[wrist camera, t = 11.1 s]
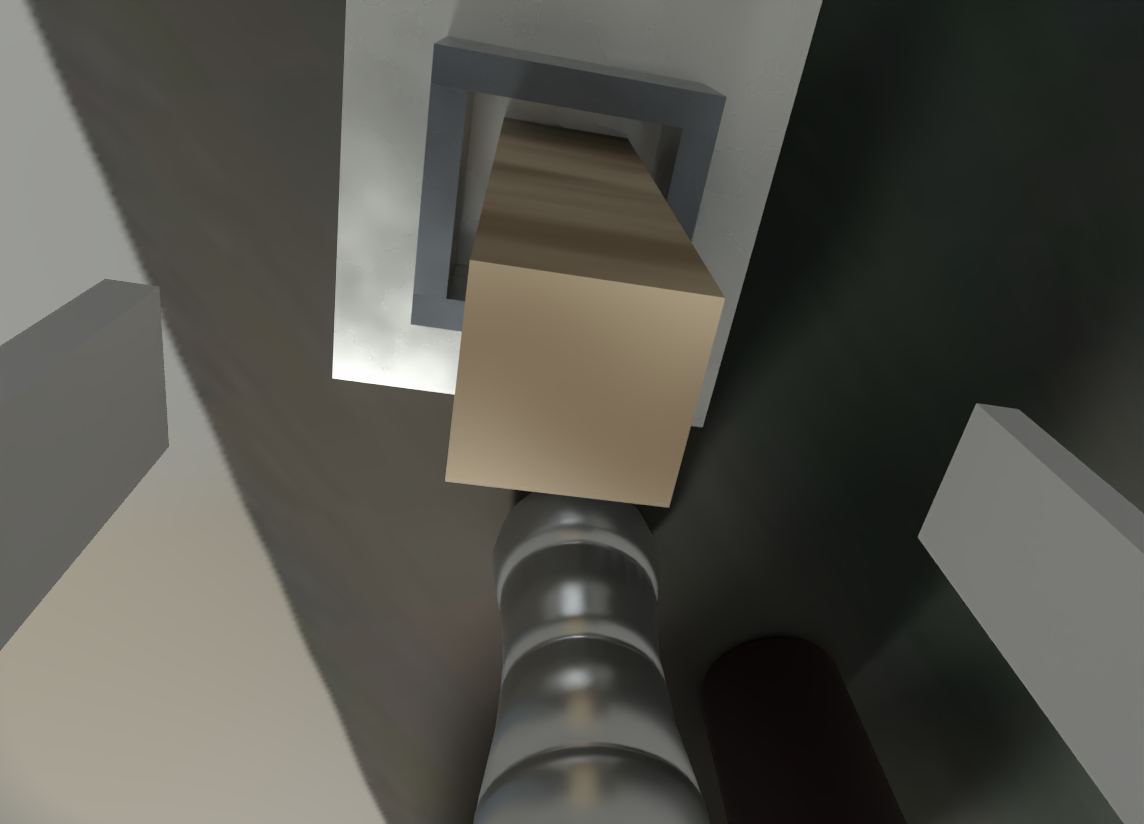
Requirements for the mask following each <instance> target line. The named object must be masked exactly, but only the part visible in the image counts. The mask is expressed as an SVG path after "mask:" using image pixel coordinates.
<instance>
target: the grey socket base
mask: <svg viewBox="0 0 1144 824" xmlns="http://www.w3.org/2000/svg"><path fill="white" fill-rule="evenodd" d="M821 4H822V0H346V24H345V51H344V78H343V105H342V133H341V160H340V187H339V214H338V241H337V269H336V296H335V323H334V350H333V377H332V378H334V379H342V380H349V381H357V382H364V383H372V384H379V385H387V386H395V387H402V388H410V389H417V390H425V391H432V392H440V393H447V394H455V388H456V379H457V370H458V361H459V352H460V343H461V334H462V325H463V317H464V308H465V299H466V290H467V281H468V272H469V263H470V257H471V253H472V249H473V245H474V240H475V236H476V232H477V228H478V224H479V220H480V215H481V211H482V207H483V203H484V199H485V194H486V190H487V186H488V182H489V178H490V174H491V169H492V165H493V161H494V157H495V153H496V149H497V144H498V140H499V136H500V132H501V128H502V124H503V119H504V117H505V118H511V119H517V120H523V121H529V122H534V123H540V124H546V125H552V126H558V127H564V128H570V129H576V130H582V131H588V132H593V133H599V134H605V135H611V136H617V137H623V138H628V140H629V141H630V143H631V144H632V146H633V148H634V149H635V151H636V153H637V154H638V156H639V158H640V159H641V161H642V162H643V164H644V166H645V167H646V169H647V171H648V172H649V174H650V176H651V177H652V179H653V180H654V182H655V184H656V185H657V187H658V189H659V190H660V192H661V193H662V195H663V197H664V198H665V200H666V202H667V203H668V205H669V207H670V208H671V210H672V211H673V213H674V215H675V216H676V218H677V220H678V221H679V223H680V225H681V226H682V228H683V229H684V231H685V233H686V234H687V236H688V238H689V239H690V241H691V243H692V244H693V246H694V247H695V249H696V251H697V252H698V254H699V256H700V257H701V259H702V261H703V262H704V264H705V265H706V267H707V269H708V270H709V272H710V274H711V275H712V277H713V279H714V280H715V282H716V283H717V285H718V287H719V288H720V290H721V292H722V293H723V295H724V297H725V301H724V305H723V309H722V312H721V316H720V320H719V324H718V327H717V331H716V335H715V338H714V342H713V346H712V350H711V353H710V357H709V361H708V365H707V368H706V372H705V376H704V379H703V383H702V387H701V391H700V394H699V398H698V402H697V405H696V409H695V413H694V417H693V420H692V424H691V426H696V427H703V425H704V421H705V417H706V414H707V410H708V407H709V403H710V400H711V396H712V392H713V389H714V385H715V382H716V378H717V375H718V371H719V368H720V364H721V360H722V357H723V353H724V350H725V346H726V343H727V339H728V335H729V332H730V328H731V325H732V321H733V318H734V314H735V310H736V307H737V303H738V300H739V296H740V293H741V289H742V286H743V282H744V278H745V275H746V271H747V268H748V264H749V261H750V257H751V253H752V250H753V246H754V243H755V239H756V236H757V232H758V228H759V225H760V221H761V218H762V214H763V211H764V207H765V204H766V200H767V196H768V193H769V189H770V186H771V182H772V179H773V175H774V171H775V168H776V164H777V161H778V157H779V154H780V150H781V147H782V143H783V139H784V136H785V132H786V129H787V125H788V122H789V118H790V114H791V111H792V107H793V104H794V100H795V97H796V93H797V89H798V86H799V82H800V79H801V75H802V72H803V68H804V65H805V61H806V57H807V54H808V50H809V47H810V43H811V40H812V36H813V32H814V29H815V25H816V22H817V18H818V15H819V11H820V7H821Z"/></svg>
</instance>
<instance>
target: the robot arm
mask: <svg viewBox="0 0 1144 824" xmlns="http://www.w3.org/2000/svg"><path fill="white" fill-rule="evenodd" d="M166 409H167V408H166V391H165V375H164V359H163V343H162V326H161V310H160V294H159V287H158V286H151V285H144V284H137V283H130V282H123V281H116V280H109V279H104V280H103V281H101V282H100V283H98V284H96V285H95V286H93V287H92V288H90V289H89V290H87V291H86V292H84V293H82V294H81V295H79V296H78V297H76V298H75V299H73V300H72V301H70V302H68V303H67V304H65V305H64V306H62V307H61V308H59V309H57V310H56V311H54V312H53V313H51V314H50V315H48V316H46V317H45V318H43V319H42V320H40V321H39V322H37V323H36V324H34V325H32V326H31V327H29V328H28V329H26V330H25V331H23V332H21V333H20V334H18V335H17V336H15V337H14V338H12V339H10V340H9V341H7V342H6V343H4V344H3V345H1V346H0V650H1V649H2V648H3V647H4V645H5V644H6V643H7V642H8V641H9V639H10V638H11V637H12V636H13V634H14V633H15V632H16V631H17V630H18V628H19V627H20V626H21V625H22V623H23V622H24V621H25V620H26V619H27V617H28V616H29V615H30V614H31V613H32V611H33V610H34V609H35V608H36V607H37V605H38V604H39V603H40V602H41V601H42V599H43V598H44V597H45V596H46V594H47V593H48V592H49V591H50V590H51V588H52V587H53V586H54V585H55V584H56V582H57V581H58V580H59V579H60V578H61V576H62V575H63V574H64V573H65V571H66V570H67V569H68V568H69V567H70V565H71V564H72V563H73V562H74V561H75V559H76V558H77V557H78V556H79V555H80V553H81V552H82V551H83V549H85V547H86V546H87V545H88V544H89V542H90V541H91V540H92V539H93V538H94V536H95V535H96V534H97V533H98V531H99V530H100V529H101V528H102V527H103V525H104V524H105V523H106V522H107V521H108V519H109V518H110V517H111V516H112V515H113V513H114V512H115V511H116V510H117V509H118V507H119V506H120V505H121V504H122V503H123V501H124V500H125V499H126V498H127V496H128V495H129V494H130V493H131V492H132V490H133V489H134V488H135V487H136V486H137V484H138V483H139V482H140V481H141V479H142V478H143V477H144V476H145V475H146V473H147V472H148V471H149V470H150V469H151V467H152V466H153V465H154V464H155V463H156V461H157V460H158V459H159V458H160V457H161V455H162V454H163V453H164V451H165V450H166V449H167V448H168V447H169V443H168V442H169V441H168V425H167V410H166ZM918 538H919V540H920V541H921V543H922V544H923V545H924V547H925V548H926V550H927V551H928V552H929V554H930V555H931V556H932V558H933V559H934V561H935V562H936V563H937V565H938V566H939V568H940V569H941V570H942V572H943V573H944V574H945V576H946V577H947V579H948V580H949V581H950V583H951V584H952V586H953V587H954V588H955V590H956V591H957V593H958V594H959V595H960V597H961V598H962V599H963V601H964V602H965V604H966V605H967V606H968V608H969V609H970V611H971V612H972V613H973V615H974V616H975V618H976V619H977V620H978V622H979V623H980V624H981V626H982V627H983V629H984V630H985V631H986V633H987V634H988V636H989V637H990V638H991V640H992V641H993V643H994V644H995V645H996V647H997V648H998V649H999V651H1000V652H1001V654H1002V655H1003V656H1004V658H1005V659H1006V661H1007V662H1008V663H1009V665H1010V666H1011V667H1012V669H1013V670H1014V672H1015V673H1016V674H1017V676H1018V677H1019V679H1020V680H1021V681H1022V683H1023V684H1024V686H1025V687H1026V688H1027V690H1028V691H1029V692H1030V694H1031V695H1032V697H1033V698H1034V699H1035V701H1036V702H1037V704H1038V705H1039V706H1040V708H1041V709H1042V711H1043V712H1044V713H1045V715H1046V716H1047V717H1048V719H1049V720H1050V722H1051V723H1052V724H1053V726H1054V727H1055V729H1056V730H1057V731H1058V733H1059V734H1060V735H1061V737H1062V738H1063V740H1064V741H1065V742H1066V744H1067V745H1068V747H1069V748H1070V749H1071V751H1072V752H1073V754H1074V755H1075V756H1076V758H1077V759H1078V760H1079V762H1080V763H1081V765H1082V766H1083V767H1084V769H1085V770H1086V772H1087V773H1088V774H1089V776H1090V777H1091V779H1092V780H1093V781H1094V783H1095V784H1096V785H1097V787H1098V788H1099V790H1100V791H1101V792H1102V794H1103V795H1104V797H1105V798H1106V799H1107V801H1108V802H1109V804H1110V805H1111V806H1112V808H1113V809H1114V810H1115V812H1116V813H1117V815H1118V816H1119V817H1120V819H1121V820H1122V822H1123V823H1124V824H1144V514H1143V513H1142V512H1141V511H1140V510H1139V509H1137V508H1136V507H1135V506H1134V505H1133V504H1131V503H1130V502H1129V501H1128V500H1127V499H1125V498H1124V497H1123V496H1122V495H1121V494H1119V493H1118V492H1117V491H1116V490H1115V489H1114V488H1112V487H1111V486H1110V485H1109V484H1108V483H1106V482H1105V481H1104V480H1103V479H1102V478H1100V477H1099V476H1098V475H1097V474H1096V473H1094V472H1093V471H1092V470H1091V469H1090V468H1088V467H1087V466H1086V465H1085V464H1084V463H1082V462H1081V461H1080V460H1079V459H1078V458H1076V457H1075V456H1074V455H1073V454H1072V453H1070V452H1069V451H1068V450H1067V449H1066V448H1064V447H1063V446H1062V445H1061V444H1060V443H1058V442H1057V441H1056V440H1055V439H1054V438H1052V437H1051V436H1050V435H1049V434H1048V433H1046V432H1045V431H1044V430H1043V429H1042V428H1040V427H1039V426H1038V425H1037V424H1036V423H1034V422H1033V421H1032V420H1031V419H1030V418H1028V417H1027V416H1026V415H1025V414H1024V413H1022V412H1021V411H1020V410H1019V409H1014V408H1007V407H1000V406H993V405H986V404H979V403H976V405H975V407H974V410H973V412H972V414H971V416H970V419H969V421H968V423H967V426H966V428H965V430H964V432H963V435H962V437H961V439H960V442H959V444H958V446H957V448H956V451H955V453H954V455H953V457H952V460H951V462H950V464H949V467H948V469H947V471H946V473H945V476H944V478H943V480H942V482H941V485H940V487H939V489H938V492H937V494H936V496H935V498H934V501H933V503H932V505H931V508H930V510H929V512H928V514H927V517H926V519H925V521H924V523H923V526H922V528H921V530H920V533H919V535H918Z"/></svg>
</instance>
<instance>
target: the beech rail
mask: <svg viewBox="0 0 1144 824" xmlns="http://www.w3.org/2000/svg"><path fill="white" fill-rule="evenodd" d="M724 301H725V297H724V295H723V293H722V292H721V290H720V288H719V287H718V285H717V283H716V282H715V280H714V279H713V277H712V275H711V274H710V272H709V270H708V269H707V267H706V265H705V264H704V262H703V261H702V259H701V257H700V256H699V254H698V252H697V251H696V249H695V247H694V246H693V244H692V243H691V241H690V239H689V238H688V236H687V234H686V233H685V231H684V229H683V228H682V226H681V225H680V223H679V221H678V220H677V218H676V216H675V215H674V213H673V211H672V210H671V208H670V207H669V205H668V203H667V202H666V200H665V198H664V197H663V195H662V193H661V192H660V190H659V189H658V187H657V185H656V184H655V182H654V180H653V179H652V177H651V176H650V174H649V172H648V171H647V169H646V167H645V166H644V164H643V162H642V161H641V159H640V158H639V156H638V154H637V153H636V151H635V149H634V148H633V146H632V144H631V143H630V141H629V140H628V138H623V137H617V136H611V135H605V134H599V133H593V132H588V131H582V130H576V129H570V128H564V127H558V126H552V125H546V124H540V123H534V122H529V121H523V120H517V119H511V118H505V117H504V119H503V124H502V128H501V132H500V136H499V140H498V144H497V149H496V153H495V157H494V161H493V165H492V169H491V174H490V178H489V182H488V186H487V190H486V194H485V199H484V203H483V207H482V211H481V215H480V220H479V224H478V228H477V232H476V236H475V240H474V245H473V249H472V253H471V257H470V263H469V272H468V281H467V290H466V299H465V308H464V317H463V325H462V334H461V343H460V352H459V361H458V370H457V379H456V388H455V397H454V406H453V415H452V424H451V433H450V442H449V451H448V460H447V469H446V478H445V481H446V482H455V483H463V484H472V485H480V486H489V487H497V488H506V489H514V490H523V491H531V492H540V493H548V494H557V495H565V496H574V497H582V498H591V499H599V500H608V501H616V502H625V503H633V504H642V505H651V506H659V507H668V508H669V506H670V502H671V499H672V495H673V491H674V487H675V484H676V480H677V476H678V472H679V469H680V465H681V461H682V458H683V454H684V450H685V446H686V443H687V439H688V435H689V432H690V428H691V424H692V420H693V417H694V413H695V409H696V405H697V402H698V398H699V394H700V391H701V387H702V383H703V379H704V376H705V372H706V368H707V365H708V361H709V357H710V353H711V350H712V346H713V342H714V338H715V335H716V331H717V327H718V324H719V320H720V316H721V312H722V309H723V305H724Z"/></svg>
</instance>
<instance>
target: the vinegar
mask: <svg viewBox="0 0 1144 824" xmlns="http://www.w3.org/2000/svg"><path fill="white" fill-rule="evenodd" d="M701 705H702V712H703V716H704V721H705V725H706V729H707V734H708V738H709V742H710V747H711V751H712V755H713V760H714V764H715V768H716V772H717V777H718V781H719V785H720V790H721V794H722V798H723V803H724V807H725V811H726V816H727V820H728V824H907V823H906V821H905V819H904V817H903V815H902V812H901V810H900V808H899V806H898V803H897V801H896V799H895V797H894V794H893V792H892V790H891V788H890V785H889V783H888V781H887V779H886V776H885V774H884V772H883V770H882V767H881V765H880V763H879V761H878V758H877V756H876V754H875V752H874V749H873V747H872V745H871V743H870V740H869V738H868V736H867V734H866V731H865V729H864V727H863V725H862V722H861V720H860V718H859V716H858V714H857V711H856V709H855V707H854V705H853V702H852V700H851V698H850V696H849V693H848V691H847V689H846V687H845V684H844V682H843V680H842V678H841V675H840V673H839V671H838V669H837V666H836V664H835V662H834V661H833V660H832V659H831V658H830V657H829V656H828V655H827V654H826V653H825V652H824V651H823V650H822V649H820V648H819V647H817V646H815V645H812V644H810V643H808V642H805V641H803V640H799V639H791V638H783V637H778V638H769V639H761V640H756V641H753V642H750V643H748V644H745V645H742V646H739V647H737V648H735V649H734V650H732V651H731V652H729V653H728V654H726V655H725V656H723V657H722V658H720V659H719V660H718V661H717V663H716V664H715V665H714V666H713V667H712V668H711V670H710V671H709V672H708V673H707V675H706V678H705V681H704V683H703V686H702V689H701Z"/></svg>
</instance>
